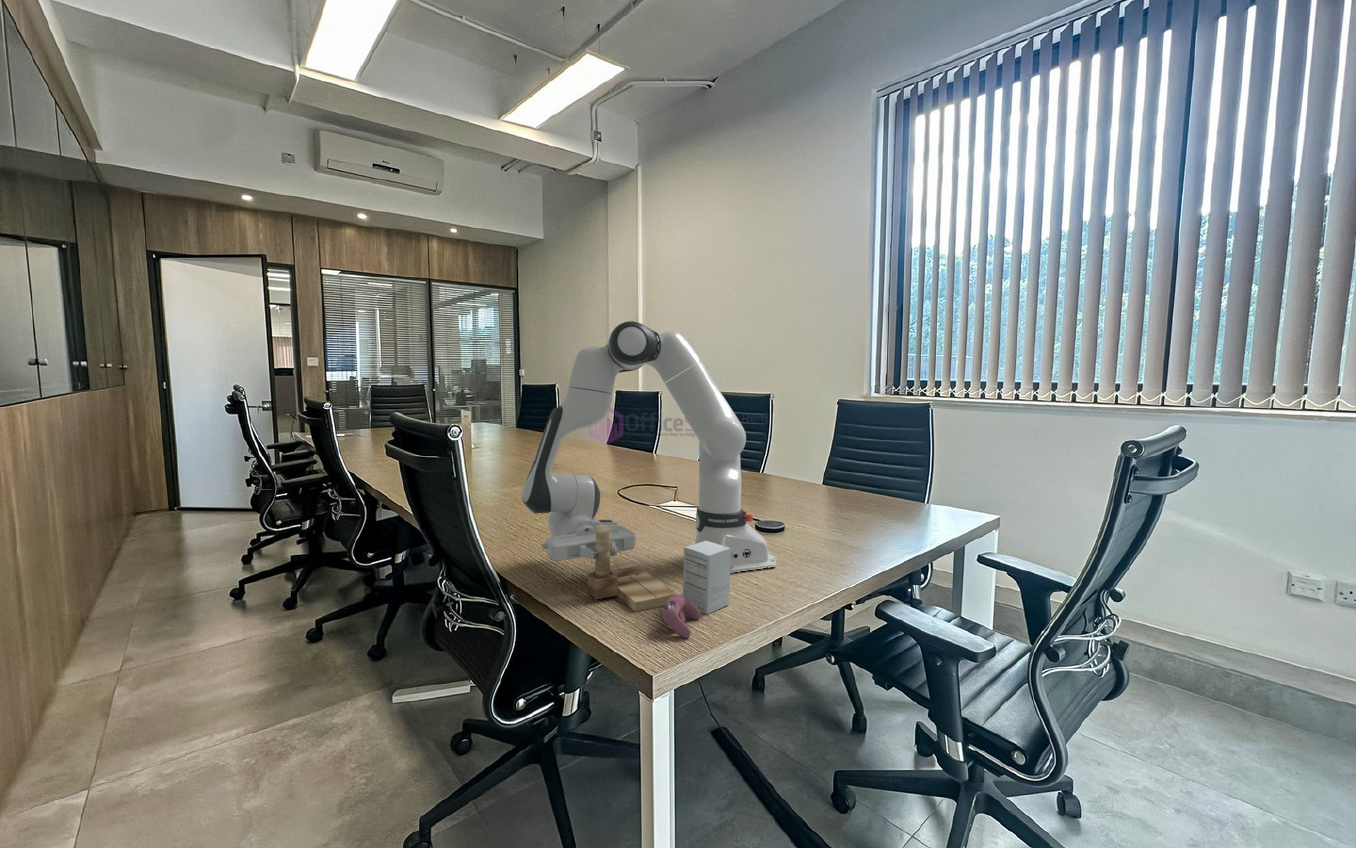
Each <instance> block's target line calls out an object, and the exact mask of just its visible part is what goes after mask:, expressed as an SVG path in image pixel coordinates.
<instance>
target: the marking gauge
mask: <svg viewBox="0 0 1356 848" xmlns="http://www.w3.org/2000/svg"><path fill="white" fill-rule="evenodd" d="M596 550H597V551H598V555H597V556H598V558H597V559H595V563H594V565H595V566H594V567H595V568H594V572H588V573H587V592H588V593H589V595H591V597H593V598H594V599H595V600H599V599H600V600H601V599H604V598H611V597H615V596H616V595H618V578H619V577H624V576H630V575H635V574H636V575H638V574H640V573H641V569H642V568H641V567H640V568H639V566H638V565H637V566H635V567H630V568H624V569H618V570H612V571H610V566H611V556H610V551H611V525H609V524H599V525H596ZM616 597H617V596H616Z"/></svg>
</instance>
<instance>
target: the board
mask: <svg viewBox="0 0 1356 848" xmlns="http://www.w3.org/2000/svg"><path fill="white" fill-rule="evenodd" d="M635 566H638V565H637V564H636V563H634V562H628V563H622V564H615V565H610V571H612V570H618V569H624V568H630V567H635ZM638 567H639V566H638ZM639 568H641V567H639ZM676 594H678V593H677V592H676V591H674V589H671V588H670V587H669V586H667V585H666V584H665V583H663V582H661V581H660V580H659V579H657V578H656V577H654V576H653V575H651V574H650V573H648V572H647V571H646V570H644V569H643V568H641V573H640V574H638V575H636V574H635V575H630V576H624V577H619V578H618V595H616V597H617V598H619V599H620V600H621V601H622V602H623V603H625V604H626V605H627V606H628V607H629V608H630V609H631V610H633V611H634V612H635V613H637V612H641V611H645V610H650V609H655V608H660V607H665V605H666V602H667V600H668V598H669V597H671V596H673V595H676Z"/></svg>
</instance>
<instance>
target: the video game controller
mask: <svg viewBox="0 0 1356 848" xmlns="http://www.w3.org/2000/svg"><path fill="white" fill-rule="evenodd" d="M661 611H662V613H661V614H662V618H663V621H664V623H665V624H666V626H668V627H669V628H670V629H671V630H672V631H673V632H674V633H675V634H677V635H678V636H680V637H681V638H683V639H689V638H690V637H691V635H692V633H691V629H690V627H689V626H688V625H687V624H686V623H685V622H686V616H688V617H689V618H691V619H693V620H700V619H701V617H702V612H701V611H700V610H699V609H698V608H697V607H696V606H695V605H694V604H693V603H692V602H691V601H690V600H689V599H688V598H687V597H686V596H685V595H683V592H682V593H677V594H676V595H673V596H671V597H669V598H668V600H667V602H666V605H664V608H662V610H661ZM685 615H686V616H685Z"/></svg>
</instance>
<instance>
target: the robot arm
mask: <svg viewBox="0 0 1356 848" xmlns="http://www.w3.org/2000/svg"><path fill="white" fill-rule="evenodd" d="M644 365H648V366H651V368H653V369H655V371H656V372H657V373H658V374H659V376H660V378H661V379H662V381H663V383H664V385H665V387H666V389H668V391H669V393H670V394H671V396H672V398H673V400H674V401H675V402H676V404H677V406H678V408H679V409H680V411H681V413H682V414H683V416H684V417H685V419H686V421H687V422H688V424H689V426H690V427H691V429H692V431H693V433H694V434H695V435H696V438H697V439H698V441H699V442H698V443H699V445H698V446H699V447H698V448H699V449H698V454H699V455H698V456H699V459H698V461H699V463H698V464H699V465H698V470H699V471H698V473H699V475H698V476H699V477H698V479H699V480H698V481H699V482H698V507H697V508H696V513H695V528H696V535H695V542H694V544H697V543H700V542H703V541H709V542H712V543H716V544H719V545H722V546H726V547H728V548H731V557H730V574H735V572H738V573H741V572H740V571H746V570H751V569H756V568H762V567H768V566H773V565H776V564H777V560H776V557H774V556H773V555H772V553H770V552H769V551H768V550H769V549H768V544H767V540H766V539H765V538H764V536H762V535H761V534H760V533H759V532H758V531H756V529H754V528H753V527H751V526H750V525H749V524H748V523H751V522H752V521H753V520H754V515H753V514H751V513H750V512H747V511H746V510H744V509H742V508H741V506H742V505H741V504H742V503H741V502H742V501H741V500H742V469H741V453H742V452H743V451H744V448H745V446H746V442H747V435H746V430H745V429H744V427H743V425H742V423H741V421H740V420H739V418H738V417H737V415H736V413H735V412H734V410H733V409H732V408H731V406H730V405H729V403H728V401H727V400H726V398H725V396H724V395H723V394H722V392H721V391H720V390H719V388H718V386H717V384H716V383H715V381H714V379H713V378H712V377H711V374H710V373H709V371H708V369H707V368H706V366H705V365H704V363H703V361H702V359H701V358H700V357H699V355H698V354H697V352H696V351H695V350H694V348H693V346H692V345H691V344H690V343H689V341H687V339H686V338H685V337H684V336H683V334H681V333H680V332H678V331H674V330H669V331H665V332H663V333H660V334H659V333H658V332H656V331H655V330H653V329H652V328H650V327H647V326H646V325H645V324H643V323H641V322H638V321H634V320H633V321H632V320H630V321H629V320H627V321H624V322H621V323H620V324H618V325H617V326H615V327H614V329H613V330H612V331H611V333H610V335H609V339H608V342H607V344H606V345H604V346H601V347H599V346H589V347H584V348H582V349H581V350H579V352H578V353H577V355H576V358H575V360H574V362H573V367H572V370H571V374H570V378H569V383H568V389H567V393H566V396H565V398H564V400H563V402H562V403H561V404H560V405H559V406H557V407H555V408H553V409H552V411H551V412H550V414H549V417H548V419H547V422H546V423H545V427H544V430H543V433H542V435H541V439H540V442H539V444H538V448H537V451H536V453H535V457H534V460H533V463H532V466H531V468H530V471H529V473H528V475H527V478H526V480H525V483H524V485H523V487H522V488H523V489H522V503H523V504H524V505H525V507H526V508H527V509H529V510H530V511H531V512H532V513H534V514H536V515H537V514H549V515H548V518H547V527H548V530H549V533H550V534H551V536H549V537H548V538H547V539H546V540H545V541H541V543H540V547H541V548H542V549H543V550H546V554H547V556H548V558H549V559H550V560H551V561H553V562H560V561H566V560H572V559H579V558H589V560H596V559H597V558H598V556H597V555H598V551H597V550H596V525H599V524H609V525H611V551H610V557H616V556H618V552H625V551H632V550H634V549H635V547H636V542H637V541H636V538H637V537H636V534H635V532H634V531H632V530H631V529H629V528H627V527H626V526H623V525H620V524H618V521H617V520H614V519H596V518H595V517H596V515H597V513H598V511H599V508H600V504H601V491H600V488H599V486H598V484H597V482H596V480H595V479H594V478H593V477H592V476H590V475H586V474H585V475H584V474H575V473H570V474H569V473H559V472H558V473H557V472H552V470H553V467H554V464H555V460H556V458H557V454H558V451H559V448H560V446H561V445H560V444H561V443H562V441H563V439H565V437H566V436H567V435H568V434H570V433H572V432H576V431H578V430H583V429H586V428H590V427H593V426H595V425H597V424H599V423H601V422H602V421H603V420H605V419H606V418H607V416H608V415H609V413H610V410H611V407H612V401H613V393H614V385H615V381H616V377H617V376H618V374H620V373H626V372H633V371H637V370H638V369H641V368H642V367H643V366H644ZM747 522H748V523H747ZM772 561H773V562H772ZM776 566H777V565H776ZM746 572H747V571H746Z"/></svg>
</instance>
